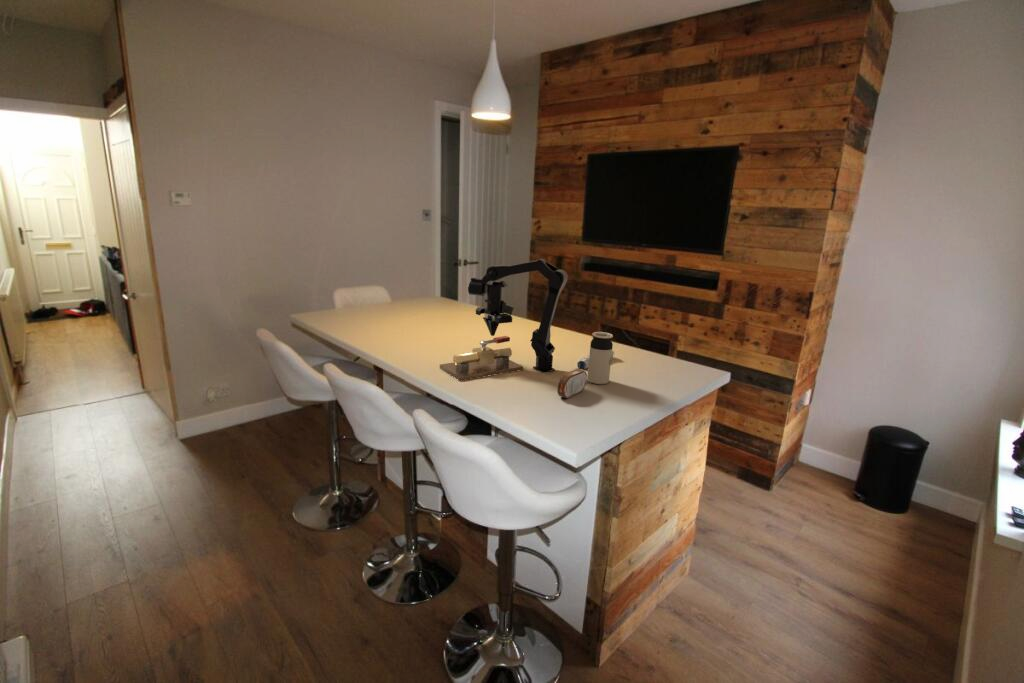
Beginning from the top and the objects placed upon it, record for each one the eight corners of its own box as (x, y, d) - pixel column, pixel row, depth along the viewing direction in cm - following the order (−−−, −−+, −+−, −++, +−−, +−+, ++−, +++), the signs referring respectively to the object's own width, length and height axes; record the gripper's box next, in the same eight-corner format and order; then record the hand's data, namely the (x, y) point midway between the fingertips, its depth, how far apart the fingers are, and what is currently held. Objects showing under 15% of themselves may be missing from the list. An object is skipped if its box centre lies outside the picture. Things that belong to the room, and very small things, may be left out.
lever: (482, 346, 181) (483, 342, 181) (478, 344, 183) (478, 340, 183) (509, 341, 190) (510, 337, 190) (505, 339, 192) (505, 335, 192)
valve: (522, 370, 188) (524, 345, 185) (459, 381, 172) (459, 354, 170) (500, 358, 200) (501, 335, 198) (439, 368, 185) (439, 343, 182)
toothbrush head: (575, 359, 193) (606, 340, 211) (575, 374, 195) (605, 354, 213) (587, 362, 190) (617, 342, 208) (586, 377, 192) (616, 356, 210)
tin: (579, 388, 171) (581, 365, 169) (587, 390, 170) (589, 367, 167) (555, 399, 160) (557, 375, 158) (563, 401, 158) (565, 377, 156)
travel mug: (584, 382, 178) (588, 334, 173) (591, 376, 185) (595, 330, 180) (604, 386, 174) (610, 338, 170) (611, 380, 181) (616, 334, 176)
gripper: (524, 300, 187) (522, 339, 191) (498, 292, 202) (496, 328, 206) (500, 302, 181) (498, 342, 185) (475, 293, 195) (474, 331, 200)
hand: (492, 335), depth 194 cm, fingers closed
